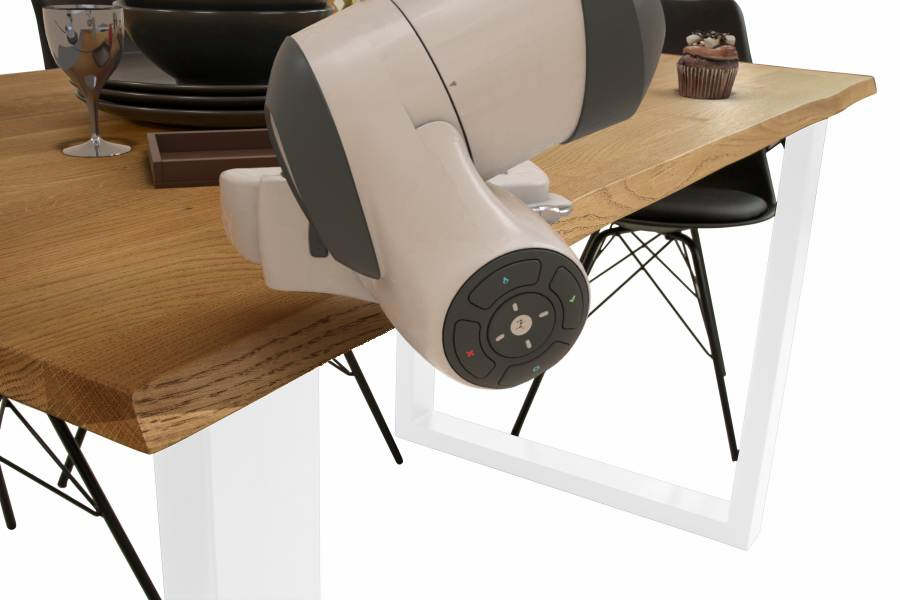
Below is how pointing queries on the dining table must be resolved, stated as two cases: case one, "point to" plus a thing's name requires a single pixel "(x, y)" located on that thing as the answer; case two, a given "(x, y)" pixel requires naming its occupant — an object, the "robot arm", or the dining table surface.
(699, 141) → the dining table surface
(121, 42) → the wine glass
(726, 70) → the cupcake
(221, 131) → the tray
